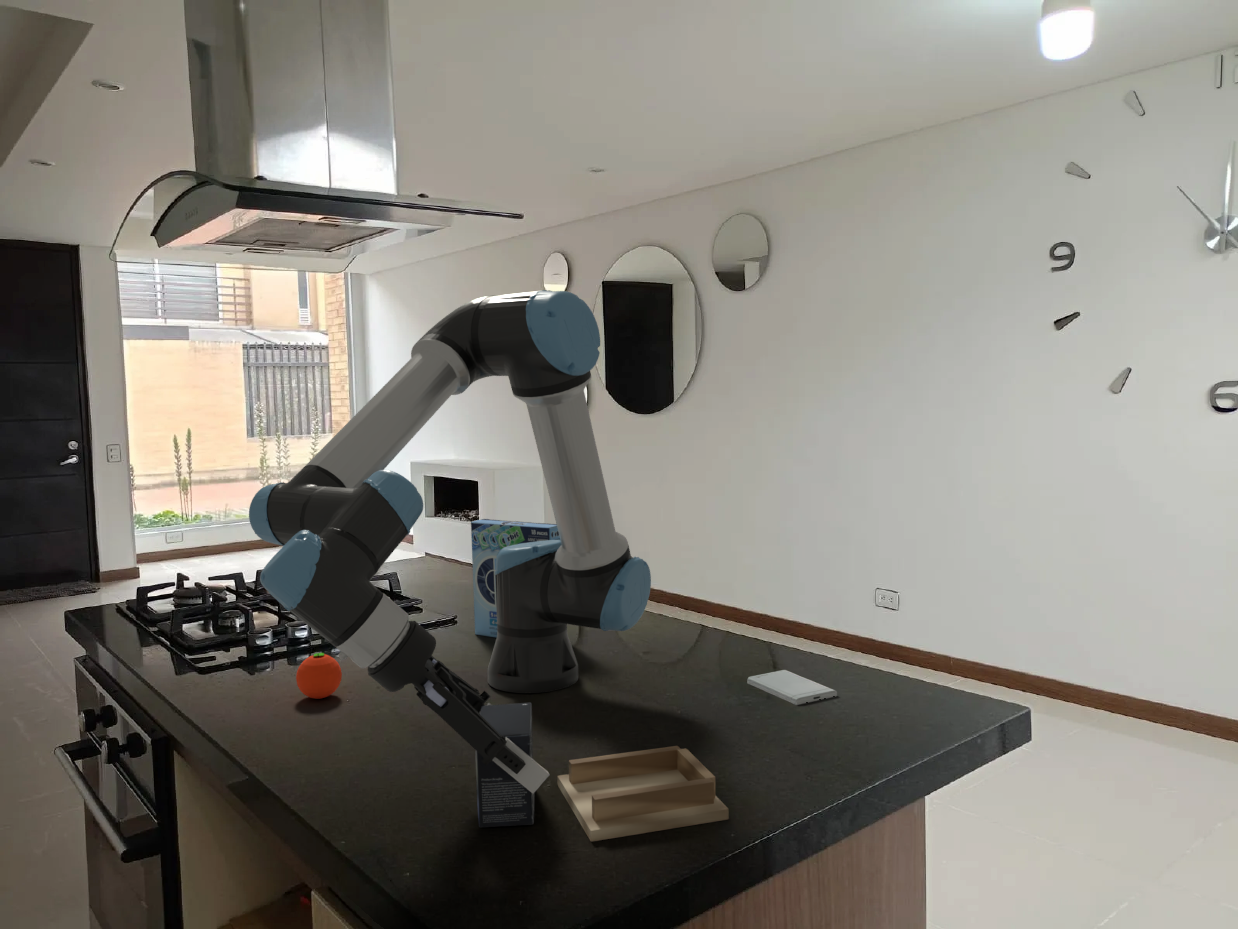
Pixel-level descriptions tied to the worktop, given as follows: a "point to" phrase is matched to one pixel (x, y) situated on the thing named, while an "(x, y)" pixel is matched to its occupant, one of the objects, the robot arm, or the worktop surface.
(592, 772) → the tray
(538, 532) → the gum box
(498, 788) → the small box
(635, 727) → the worktop surface
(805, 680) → the hard drive
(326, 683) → the clementine
